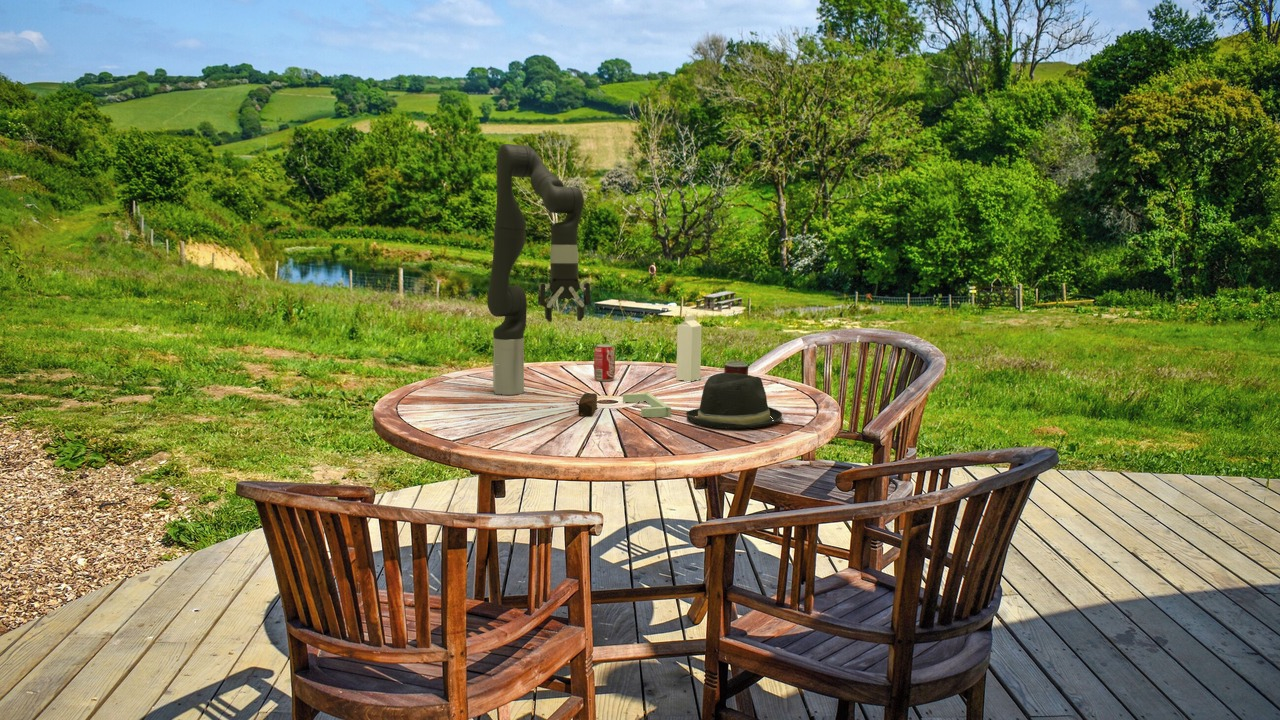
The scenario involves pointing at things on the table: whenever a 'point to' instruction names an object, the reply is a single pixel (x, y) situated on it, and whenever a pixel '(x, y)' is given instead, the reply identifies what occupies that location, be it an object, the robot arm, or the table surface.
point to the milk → (688, 349)
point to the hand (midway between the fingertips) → (564, 321)
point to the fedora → (734, 403)
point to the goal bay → (657, 405)
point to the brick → (587, 404)
